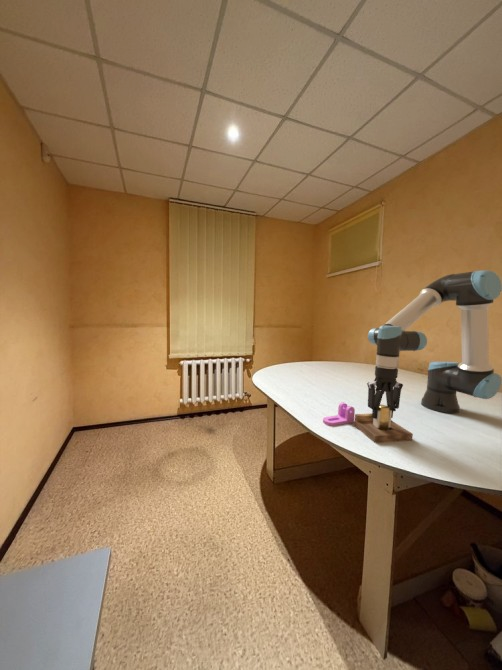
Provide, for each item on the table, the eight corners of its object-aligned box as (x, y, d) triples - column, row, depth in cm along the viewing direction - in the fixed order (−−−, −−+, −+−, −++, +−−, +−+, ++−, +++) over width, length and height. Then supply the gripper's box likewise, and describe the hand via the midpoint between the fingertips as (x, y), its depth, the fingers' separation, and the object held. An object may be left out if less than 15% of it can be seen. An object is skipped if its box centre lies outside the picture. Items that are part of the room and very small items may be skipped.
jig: (387, 424, 103) (388, 412, 102) (412, 440, 90) (413, 427, 89) (354, 425, 100) (355, 414, 100) (374, 442, 88) (375, 429, 87)
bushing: (382, 428, 98) (384, 404, 97) (390, 434, 93) (392, 408, 92) (372, 429, 97) (374, 404, 96) (379, 434, 93) (381, 409, 92)
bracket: (344, 417, 109) (345, 401, 108) (354, 422, 104) (354, 406, 103) (320, 421, 105) (321, 405, 104) (328, 426, 99) (329, 410, 99)
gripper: (399, 364, 98) (394, 420, 100) (359, 364, 95) (355, 422, 97) (414, 368, 90) (408, 429, 92) (372, 368, 88) (367, 431, 90)
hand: (381, 425), depth 95 cm, fingers closed on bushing, 4 cm apart
